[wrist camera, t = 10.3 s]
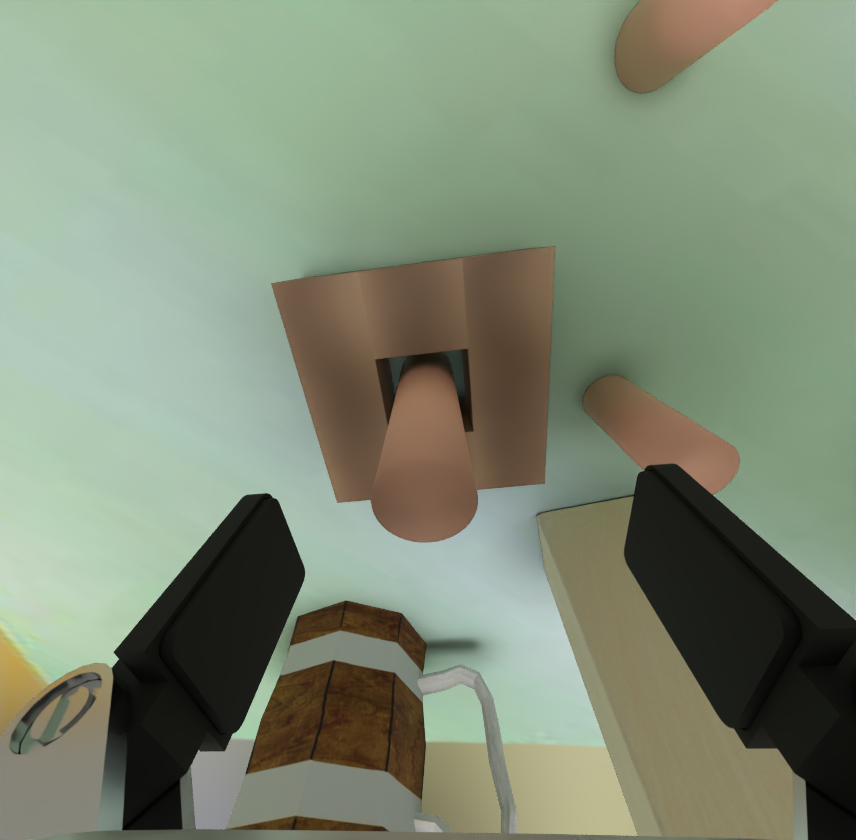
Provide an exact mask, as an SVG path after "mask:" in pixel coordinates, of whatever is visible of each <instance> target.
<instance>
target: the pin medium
mask: <svg viewBox="0 0 856 840" xmlns="http://www.w3.org/2000/svg"><path fill="white" fill-rule="evenodd" d="M583 408H584V410H585V412H586V413H587V414H588V415H589V416H590V417H591V418H592V419H593V420H594V421H595V422H596V423H597V424H598V425H599V426H600V427H601V428H602V429H603V430H604V431H605V432H606V433H607V434H608V435H609V436H610V437H611V438H612V439H613V440H614V441H615V442H616V443H617V444H618V445H619V446H620V447H621V448H622V449H623V450H624V451H625V452H626V453H627V454H628V455H629V456H630V457H631V458H632V459H633V460H634V461H635V462H636V463H637V464H638V465H639V466H640V467H641V468H642V469H643V470H644V469H645V468H646V467H647V466H648V465H657V464H671V463H673V464H677V465H678V466H680V467H681V468H682V469H683V470H684V471H686V472H687V473H688V474H689V475H690V476H691V477H692V478H694V479H695V480H696V481H697V482H698V483H699V484H700V485H702V486H703V487H704V488H705V489H706V490H707V491H708V492H710V493H711V494H712V495H713V494H715V493H717V492H718V491H720V490H721V489H723V488H724V487H725V486H726V485H727V484H728V483H729V482H730V481H731V480H732V479H733V477H734V476H735V474H736V473H737V470H738V467H739V462H740V459H739V454H738V452H737V450H736V449H735V448H734V447H733V446H732V445H731V444H729V443H727V442H726V441H724V440H723V439H721V438H719V437H718V436H716V435H715V434H713V433H711V432H710V431H708V430H706V429H705V428H703V427H702V426H700V425H698V424H697V423H695V422H694V421H692V420H690V419H689V418H687V417H686V416H684V415H682V414H681V413H679V412H678V411H676V410H674V409H673V408H671V407H669V406H668V405H666V404H665V403H663V402H661V401H660V400H658V399H657V398H655V397H653V396H652V395H650V394H649V393H647V392H645V391H644V390H642V389H641V388H639V387H637V386H636V385H634V384H633V383H631V382H629V381H628V380H626V379H624V378H623V377H620V376H616V375H610V376H605V377H602V378H600V379H598V380H596V381H595V382H593V383H592V384H591V385H590V386H589V387H588V389H587V390H586V392H585V394H584V397H583Z"/></svg>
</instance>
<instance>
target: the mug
mask: <svg viewBox="0 0 856 840" xmlns="http://www.w3.org/2000/svg"><path fill="white" fill-rule="evenodd" d="M425 652H426V643H425V642H424V641H423V639H422V638H421V637H420V636H419V634H418V633H417V632H416V631H415V629H414V628H413V627H412V626H411V624H410V623H409V622H408V621H407V619H406V618H405V617H404V615H403V614H402V613H398V612H394V611H389V610H385V609H381V608H376V607H372V606H367V605H363V604H358V603H354V602H350V601H343V602H340V603H337V604H334V605H331V606H328V607H325V608H322V609H319V610H316V611H313V612H310V613H307V614H304V615H301V616H298V617H297V621H296V624H295V628H294V631H293V635H292V639H291V642H290V646H289V649H288V653H287V657H286V660H285V663H284V666H283V669H282V671H281V674H280V677H279V679H278V681H277V684H276V686H275V688H274V691H273V693H272V695H271V698H270V700H269V702H268V705H267V707H266V709H265V712H264V714H263V716H262V719H261V722H260V725H259V729H258V732H257V736H256V739H255V743H254V746H253V750H252V753H251V757H250V760H249V764H248V767H247V771H246V774H245V777H244V780H243V783H242V785H241V789H240V791H239V794H238V797H237V799H236V802H235V805H234V808H233V811H232V814H231V817H230V819H229V822H228V825H227V828H226V830H310V831H388V832H452V831H451V829H450V828H449V827H448V826H447V825H446V824H445V823H444V822H443V821H442V820H441V819H440V818H439V817H438V816H435V815H429V814H424V813H422V789H423V776H424V763H425V750H426V742H425V729H424V715H423V695H427V694H431V693H436V692H440V691H444V690H447V689H449V688H451V687H454V686H456V685H458V684H460V683H461V684H464V685H466V686H468V687H471V688H473V689H475V692H476V694H477V696H478V698H479V700H480V702H481V705H482V711H483V719H484V726H485V733H486V741H487V748H488V757H489V763H490V767H491V772H492V775H493V780H494V784H495V788H496V792H497V796H498V801H499V805H500V809H501V833H512V834H517V820H518V816H517V812H516V807H515V803H514V799H513V795H512V790H511V786H510V782H509V777H508V773H507V769H506V764H505V759H504V754H503V747H502V740H501V734H500V728H499V723H498V719H497V714H496V710H495V705H494V700H493V697H492V694H491V693H490V691H489V689H488V687H487V686H486V684H485V682H484V680H483V678H482V677H481V675H480V673H479V672H477V671H475V670H472V669H470V668H467V667H465V666H462V665H458V666H455V667H452V668H449V669H446V670H443V671H439V672H434V673H430V674H426V675H423V669H424V661H425Z"/></svg>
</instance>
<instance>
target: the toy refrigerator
mask: <svg viewBox="0 0 856 840" xmlns="http://www.w3.org/2000/svg"><path fill="white" fill-rule="evenodd" d="M633 498H634V496H632V497H626V498H621V499H615V500H610V501H604V502H599V503H593V504H588V505H582V506H577V507H572V508H566V509H561V510H555V511H550V512H545V513H541V514H539V515H538V516H537V522H538V529H539V536H540V543H541V549H542V555H543V562H544V568H545V573H546V576H547V579H548V582H549V584H550V587H551V590H552V593H553V596H554V599H555V602H556V605H557V608H558V610H559V613H560V616H561V619H562V622H563V625H564V628H565V630H566V633H567V636H568V639H569V642H570V645H571V647H572V650H573V653H574V656H575V659H576V662H577V665H578V667H579V670H580V673H581V676H582V679H583V682H584V685H585V687H586V690H587V693H588V696H589V699H590V701H591V704H592V707H593V710H594V713H595V716H596V718H597V721H598V724H599V727H600V730H601V732H602V735H603V738H604V741H605V744H606V746H607V749H608V752H609V755H610V758H611V760H612V763H613V766H614V769H615V772H616V775H617V778H618V780H619V783H620V786H621V789H622V792H623V795H624V797H625V800H626V803H627V806H628V809H629V812H630V815H631V817H632V820H633V823H634V826H635V828H636V831H637V834H638V836H660V837H706V838H750V839H773V840H794V827H793V779H792V769H791V768H790V766H789V765H788V763H787V762H786V760H785V759H784V757H783V756H782V755H781V753H780V752H779V750H778V749H746V748H745V746H744V744H743V743H742V741H741V740H740V738H739V736H738V735H737V733H736V731H735V730H734V728H729V727H727V726H726V725H725V724H724V723H723V722H722V721H721V720H720V718H719V717H718V715H717V714H716V712H715V710H714V709H713V707H712V705H711V704H710V702H709V700H708V699H707V697H706V695H705V694H704V692H703V690H702V689H701V687H700V685H699V684H698V682H697V680H696V679H695V677H694V675H693V674H692V672H691V671H690V669H689V667H688V666H687V664H686V662H685V661H684V659H683V657H682V656H681V654H680V652H679V651H678V649H677V647H676V646H675V644H674V642H673V641H672V639H671V637H670V636H669V634H668V632H667V631H666V629H665V627H664V626H663V624H662V622H661V621H660V619H659V617H658V616H657V614H656V612H655V611H654V609H653V607H652V606H651V604H650V602H649V601H648V599H647V597H646V596H645V594H644V592H643V591H642V589H641V588H640V586H639V584H638V583H637V581H636V579H635V578H634V576H633V574H632V573H631V571H630V569H629V568H628V566H627V564H626V561H625V558H624V546H625V541H626V535H627V530H628V525H629V519H630V514H631V508H632V503H633Z"/></svg>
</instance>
